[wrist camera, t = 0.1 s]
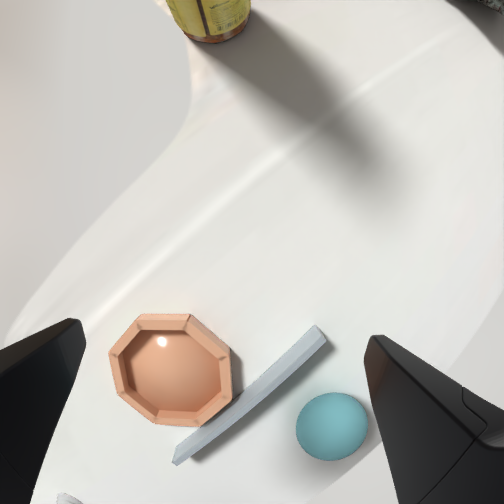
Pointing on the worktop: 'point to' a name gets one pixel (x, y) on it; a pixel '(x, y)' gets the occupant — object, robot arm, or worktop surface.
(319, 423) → the ball
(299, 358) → the low wall
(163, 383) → the saucer
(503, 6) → the lucky cat figurine
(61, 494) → the chalice
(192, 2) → the sauce bottle
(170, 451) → the worktop surface
